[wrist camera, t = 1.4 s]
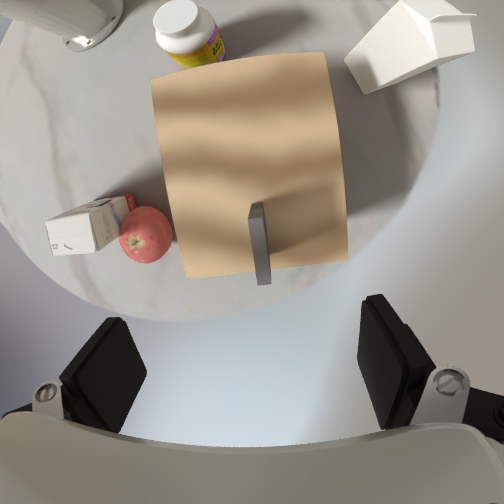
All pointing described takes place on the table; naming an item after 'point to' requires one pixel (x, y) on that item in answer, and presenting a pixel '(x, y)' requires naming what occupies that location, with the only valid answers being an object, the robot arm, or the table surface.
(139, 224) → the apple
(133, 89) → the table surface
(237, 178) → the lid
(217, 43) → the supplement bottle
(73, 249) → the ink box
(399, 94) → the table surface
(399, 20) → the milk
